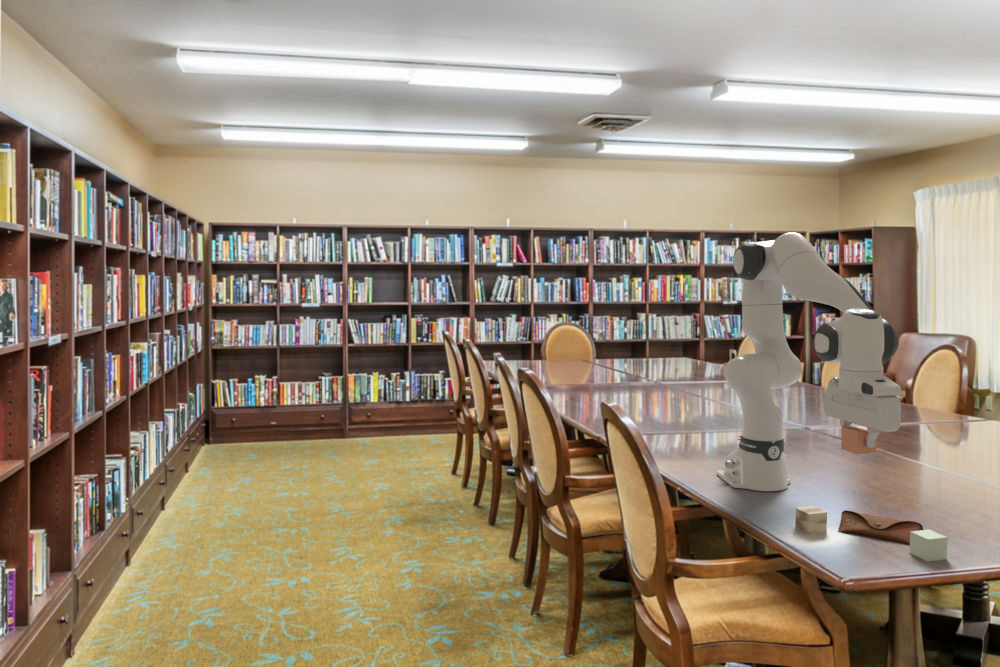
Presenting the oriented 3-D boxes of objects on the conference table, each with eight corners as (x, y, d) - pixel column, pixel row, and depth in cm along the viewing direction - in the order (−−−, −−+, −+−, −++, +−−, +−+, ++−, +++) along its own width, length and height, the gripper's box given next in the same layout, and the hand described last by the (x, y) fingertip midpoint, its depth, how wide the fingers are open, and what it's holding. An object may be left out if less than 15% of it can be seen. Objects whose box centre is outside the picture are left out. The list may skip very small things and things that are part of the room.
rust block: (841, 448, 167) (841, 427, 167) (860, 447, 169) (860, 425, 168) (856, 454, 163) (857, 431, 162) (876, 452, 164) (876, 430, 163)
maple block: (795, 527, 181) (795, 507, 181) (812, 525, 183) (813, 505, 182) (808, 534, 177) (808, 514, 176) (826, 532, 178) (827, 512, 177)
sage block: (909, 553, 164) (910, 531, 164) (928, 551, 166) (929, 529, 165) (927, 561, 160) (928, 539, 159) (946, 559, 161) (947, 537, 160)
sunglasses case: (834, 531, 178) (838, 504, 180) (838, 538, 183) (841, 512, 185) (920, 546, 168) (922, 517, 170) (922, 553, 173) (924, 525, 175)
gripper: (817, 376, 174) (816, 434, 175) (882, 390, 154) (879, 455, 155) (840, 375, 175) (839, 432, 176) (907, 388, 155) (905, 453, 156)
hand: (858, 443), depth 165 cm, fingers closed on rust block, 5 cm apart
